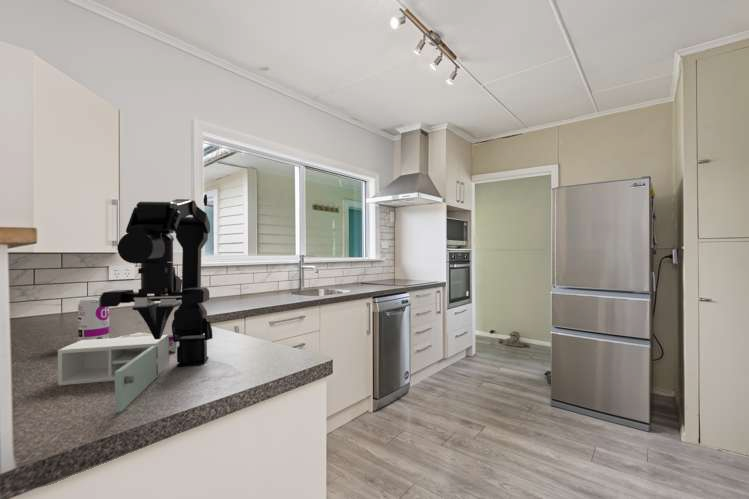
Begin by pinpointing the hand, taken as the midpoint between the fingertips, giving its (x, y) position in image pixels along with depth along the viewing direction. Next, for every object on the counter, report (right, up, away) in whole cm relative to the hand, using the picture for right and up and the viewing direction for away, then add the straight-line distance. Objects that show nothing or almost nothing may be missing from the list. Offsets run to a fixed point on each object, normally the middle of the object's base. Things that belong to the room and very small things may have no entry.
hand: (157, 339), depth 74 cm
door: (-5, -12, +3) cm, 13 cm away
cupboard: (-19, -13, +16) cm, 28 cm away
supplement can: (-50, -14, +48) cm, 71 cm away
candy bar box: (-18, -10, +31) cm, 37 cm away
